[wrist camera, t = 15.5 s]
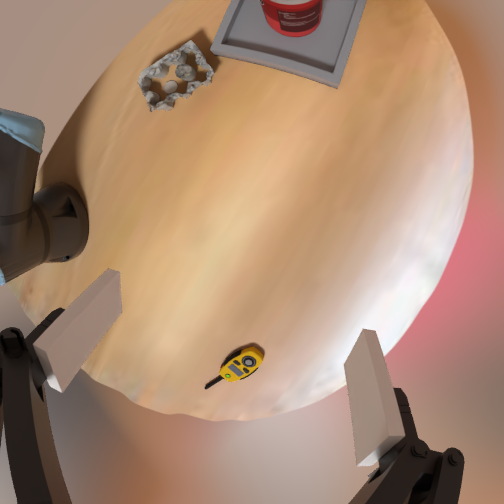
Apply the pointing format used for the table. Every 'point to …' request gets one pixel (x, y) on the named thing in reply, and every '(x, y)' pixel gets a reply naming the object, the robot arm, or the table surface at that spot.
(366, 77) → the table surface
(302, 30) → the canned food
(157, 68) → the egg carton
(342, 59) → the tray
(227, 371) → the yellow walkie talkie
